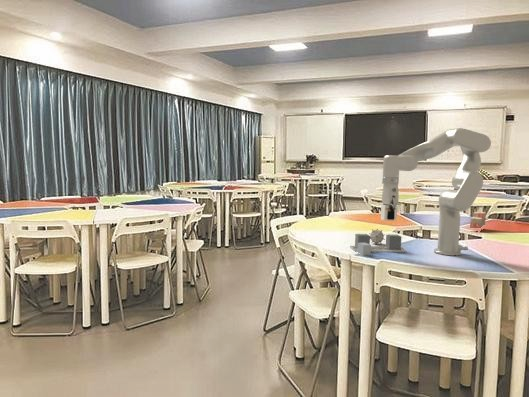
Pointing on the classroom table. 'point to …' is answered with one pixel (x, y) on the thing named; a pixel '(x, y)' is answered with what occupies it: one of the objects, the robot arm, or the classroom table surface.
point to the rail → (391, 246)
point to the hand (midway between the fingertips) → (388, 218)
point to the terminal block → (364, 249)
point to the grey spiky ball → (376, 236)
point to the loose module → (385, 212)
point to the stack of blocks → (478, 220)
